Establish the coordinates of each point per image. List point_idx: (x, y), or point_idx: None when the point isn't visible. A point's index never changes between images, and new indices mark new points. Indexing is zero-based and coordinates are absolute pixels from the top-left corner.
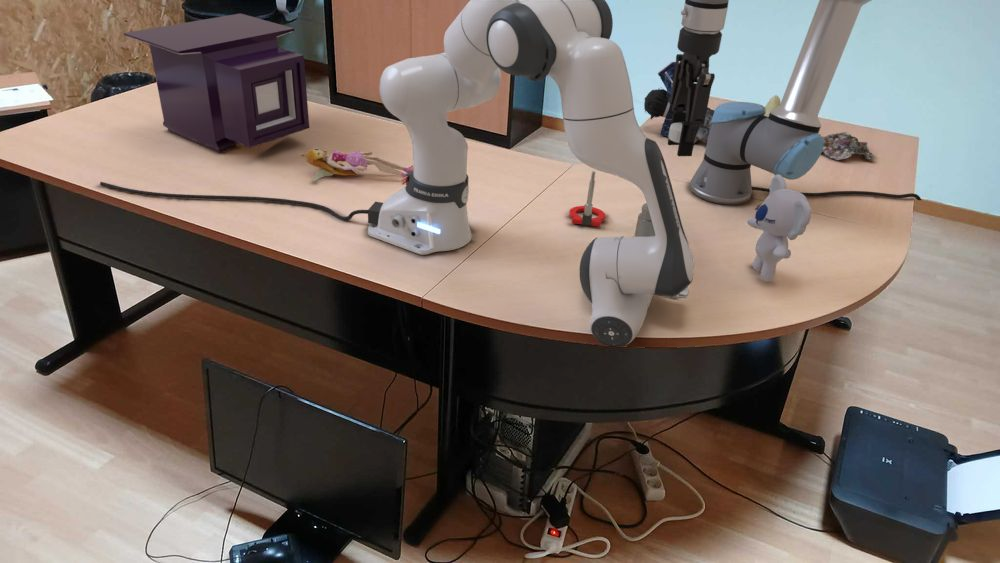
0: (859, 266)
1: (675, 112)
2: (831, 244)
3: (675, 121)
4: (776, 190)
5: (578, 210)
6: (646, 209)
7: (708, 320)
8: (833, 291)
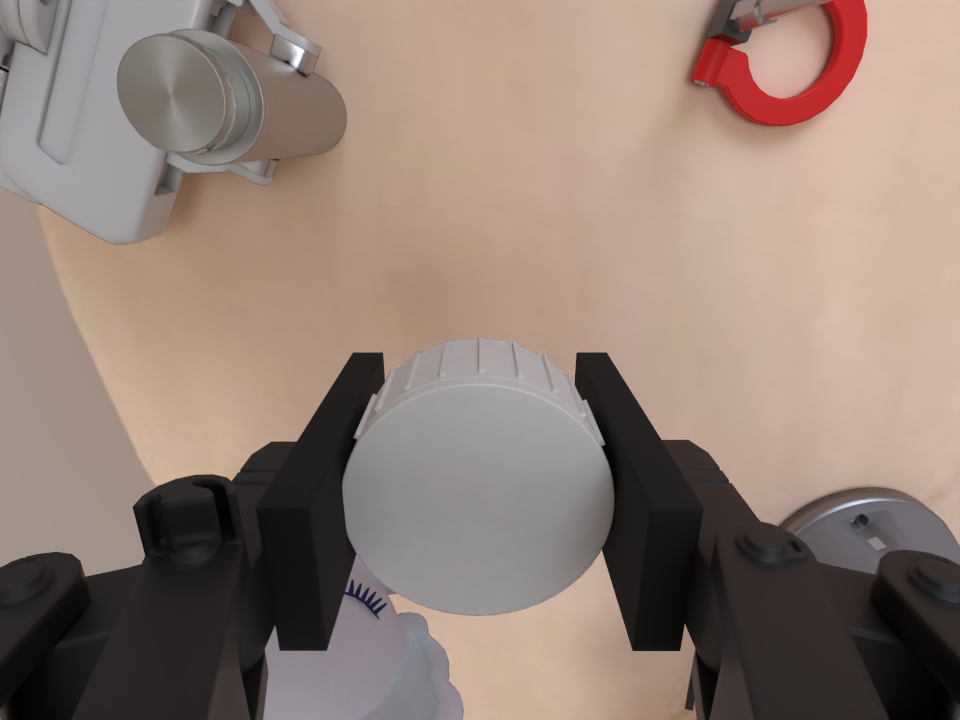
0: None
1: (711, 539)
2: (516, 692)
3: (622, 479)
4: (330, 703)
5: (834, 15)
6: (132, 46)
7: (116, 268)
8: None
